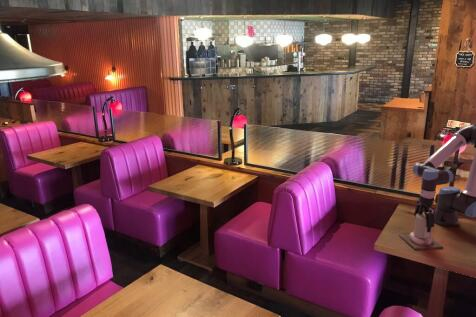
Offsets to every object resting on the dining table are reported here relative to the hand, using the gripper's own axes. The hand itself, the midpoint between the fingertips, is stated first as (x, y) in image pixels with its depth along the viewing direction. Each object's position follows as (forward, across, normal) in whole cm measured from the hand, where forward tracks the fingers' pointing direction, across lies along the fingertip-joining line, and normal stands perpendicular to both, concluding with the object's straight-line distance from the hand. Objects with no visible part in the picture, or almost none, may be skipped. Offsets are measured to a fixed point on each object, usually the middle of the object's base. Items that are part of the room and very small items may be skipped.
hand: (421, 232), depth 228 cm
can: (+2, 0, 0) cm, 2 cm away
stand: (+6, 0, 0) cm, 6 cm away
